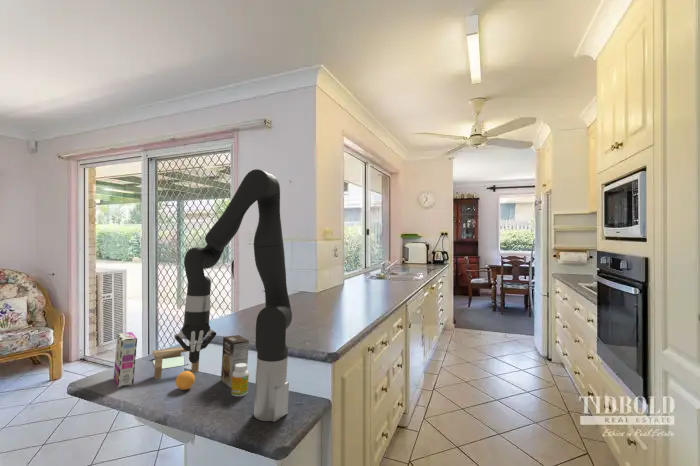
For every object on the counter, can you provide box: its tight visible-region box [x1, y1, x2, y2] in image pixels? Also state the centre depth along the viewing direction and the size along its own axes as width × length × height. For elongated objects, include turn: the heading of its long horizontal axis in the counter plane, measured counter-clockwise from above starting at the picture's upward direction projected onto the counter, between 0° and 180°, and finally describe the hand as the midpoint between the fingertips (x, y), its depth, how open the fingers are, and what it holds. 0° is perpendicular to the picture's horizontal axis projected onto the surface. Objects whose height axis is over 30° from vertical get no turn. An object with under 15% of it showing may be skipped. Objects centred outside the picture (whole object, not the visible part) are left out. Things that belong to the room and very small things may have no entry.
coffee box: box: [220, 334, 250, 389], centre depth 124 cm, size 9×6×16 cm
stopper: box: [154, 352, 182, 360], centre depth 147 cm, size 2×10×2 cm, turn 127°
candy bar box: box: [113, 332, 138, 389], centre depth 121 cm, size 11×5×16 cm, turn 42°
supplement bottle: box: [230, 363, 250, 397], centre depth 115 cm, size 5×5×10 cm
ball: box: [175, 370, 196, 391], centre depth 117 cm, size 6×6×6 cm
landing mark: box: [152, 355, 185, 370], centre depth 140 cm, size 12×12×1 cm
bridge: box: [152, 346, 203, 380], centre depth 129 cm, size 3×17×10 cm, turn 127°
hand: (193, 362), depth 108 cm, fingers closed
